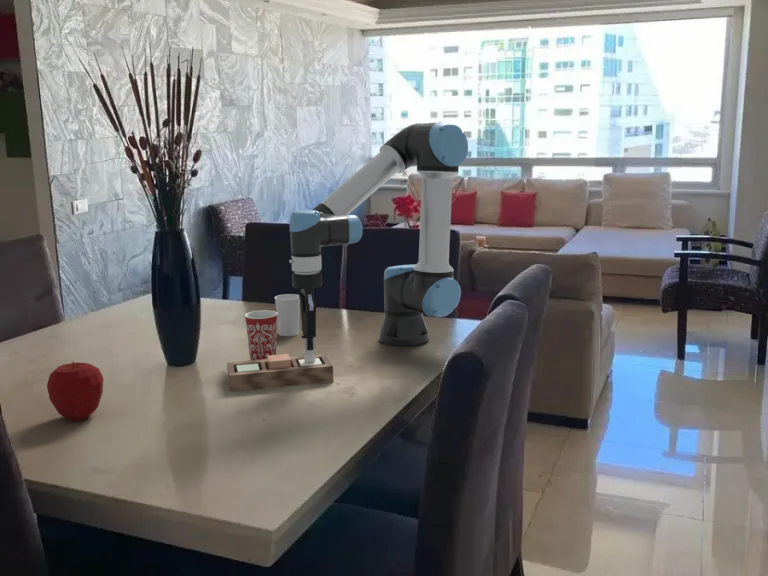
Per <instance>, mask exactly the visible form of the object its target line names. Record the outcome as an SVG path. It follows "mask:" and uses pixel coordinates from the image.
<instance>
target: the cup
mask: <svg viewBox="0 0 768 576" xmlns="http://www.w3.org/2000/svg"><path fill="white" fill-rule="evenodd" d="M274 302H275V310H276V311H275V312H277V313H278V315H277V329H278V335H279V336H281V337H294V336H297V335H299V334H300V310H301V308H300V299H299V294H296V293H295V294H294V293H293V294H292V293H291V294H290V293H287V294H286V293H285V294H279V295H276V296H274Z"/></svg>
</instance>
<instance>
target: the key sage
mask: <svg viewBox="0 0 768 576" xmlns="http://www.w3.org/2000/svg"><path fill="white" fill-rule="evenodd" d="M257 370H259V366H258V364H247V365H237V372H246V371H257Z"/></svg>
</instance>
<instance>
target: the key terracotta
mask: <svg viewBox="0 0 768 576" xmlns="http://www.w3.org/2000/svg"><path fill="white" fill-rule="evenodd" d="M290 357H291V356H290V355H289V353H284V354H276V355H269V356H267V358H268V369H279V368H290V367H291V359H290Z"/></svg>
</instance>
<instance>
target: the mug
mask: <svg viewBox="0 0 768 576" xmlns="http://www.w3.org/2000/svg"><path fill="white" fill-rule="evenodd" d="M277 315H278V313H277V312H276V311H274V310H254V311H250V312H247V313H245V314H244V317H245V318H244V319H245V322H246V323H245V326H246V334H247V342H248V343H247V344H248V352H249V361H252V360H263V359H268V358H267V356H269V355H278V354H277V343H278V342H277V340H278V338H277V333H278V331H277V330H278V320H277Z"/></svg>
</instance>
